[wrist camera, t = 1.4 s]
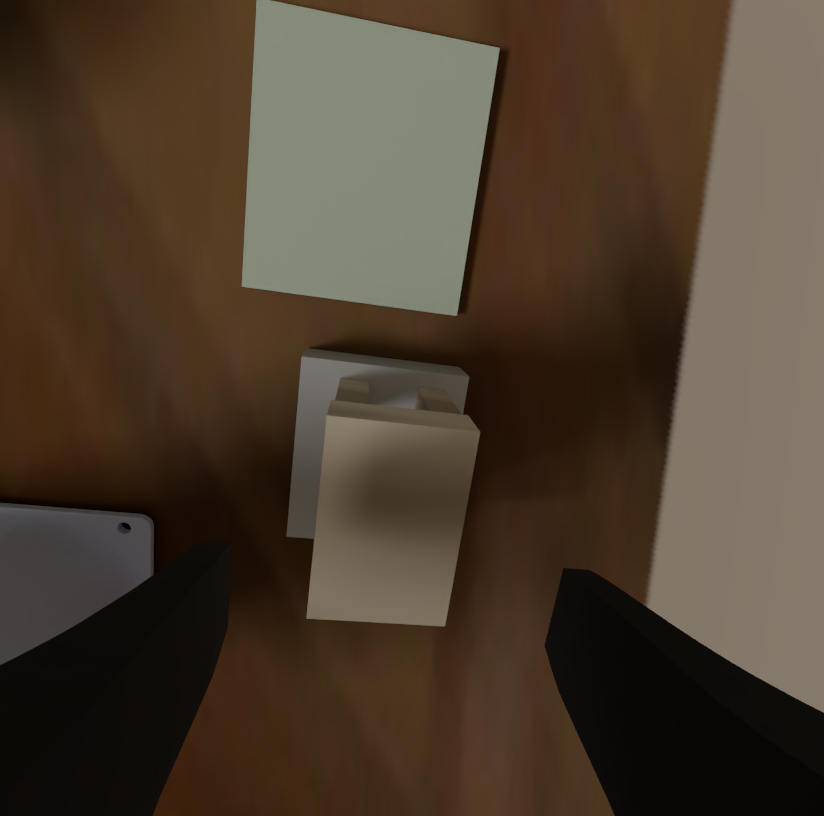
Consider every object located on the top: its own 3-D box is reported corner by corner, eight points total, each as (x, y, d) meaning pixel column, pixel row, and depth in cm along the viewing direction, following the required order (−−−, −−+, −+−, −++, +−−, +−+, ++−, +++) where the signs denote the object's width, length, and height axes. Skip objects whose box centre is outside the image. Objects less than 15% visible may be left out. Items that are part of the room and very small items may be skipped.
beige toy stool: (424, 535, 19) (445, 626, 14) (322, 527, 19) (306, 618, 14) (448, 388, 18) (480, 432, 13) (337, 374, 17) (326, 415, 12)
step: (293, 512, 21) (286, 536, 19) (308, 348, 19) (301, 356, 17) (433, 524, 22) (439, 548, 20) (459, 366, 20) (469, 376, 18)
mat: (244, 286, 18) (241, 286, 18) (259, 4, 16) (256, -3, 16) (455, 315, 19) (456, 315, 19) (496, 52, 17) (500, 47, 17)
